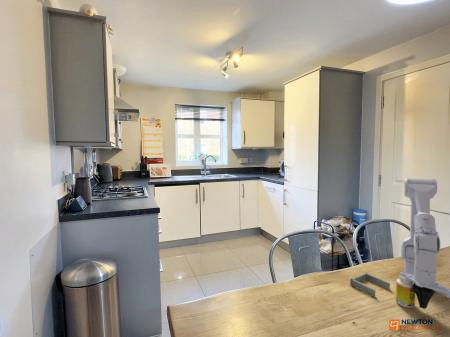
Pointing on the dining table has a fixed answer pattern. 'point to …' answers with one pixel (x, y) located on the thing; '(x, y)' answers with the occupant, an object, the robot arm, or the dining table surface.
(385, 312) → the dining table surface
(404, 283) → the supplement bottle
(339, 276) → the dining table surface
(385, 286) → the cup cradle
